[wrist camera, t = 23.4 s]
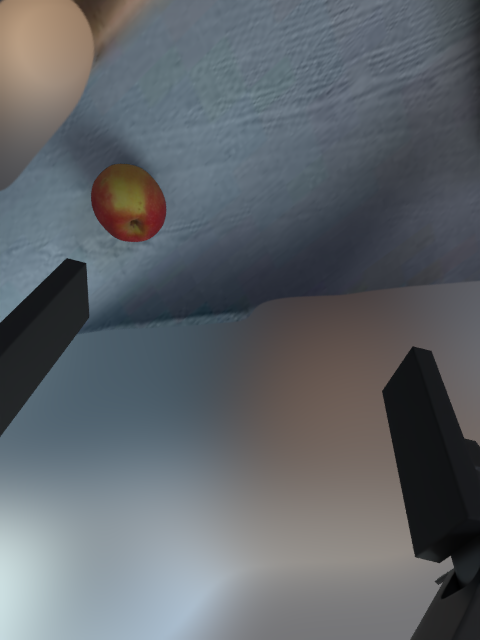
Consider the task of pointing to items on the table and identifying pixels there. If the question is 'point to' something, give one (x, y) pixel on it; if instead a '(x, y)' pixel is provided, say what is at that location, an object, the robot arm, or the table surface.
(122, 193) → the apple
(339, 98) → the table surface
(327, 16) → the table surface
